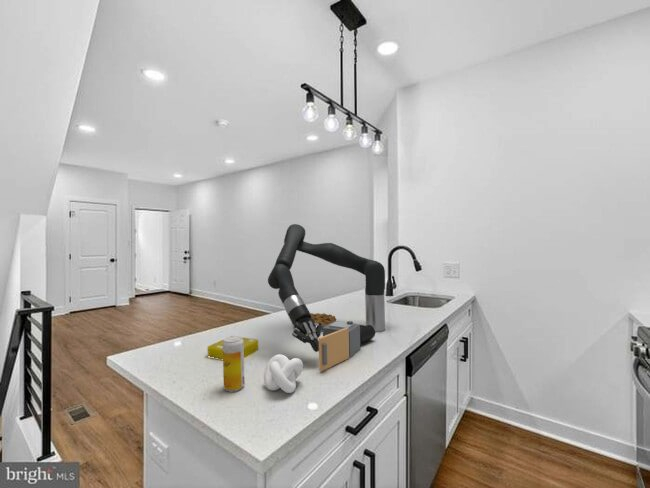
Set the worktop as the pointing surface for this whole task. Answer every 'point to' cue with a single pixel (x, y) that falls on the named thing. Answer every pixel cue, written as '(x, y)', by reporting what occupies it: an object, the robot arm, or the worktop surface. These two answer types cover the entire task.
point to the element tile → (217, 348)
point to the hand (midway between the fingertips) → (318, 350)
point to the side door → (333, 348)
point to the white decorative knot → (282, 373)
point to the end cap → (366, 333)
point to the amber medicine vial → (233, 363)
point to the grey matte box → (353, 334)
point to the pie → (323, 319)
